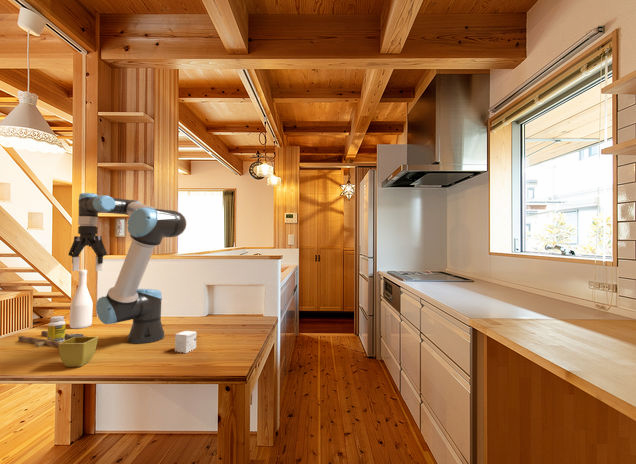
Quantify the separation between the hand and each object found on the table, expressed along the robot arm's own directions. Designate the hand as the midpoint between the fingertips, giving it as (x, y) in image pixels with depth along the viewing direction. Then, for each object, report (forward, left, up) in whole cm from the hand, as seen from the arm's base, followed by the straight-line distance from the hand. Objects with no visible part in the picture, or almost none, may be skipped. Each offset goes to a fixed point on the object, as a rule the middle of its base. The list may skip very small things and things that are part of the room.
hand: (87, 270), depth 151 cm
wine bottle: (+21, -14, -32) cm, 40 cm away
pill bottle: (+6, +8, -32) cm, 33 cm away
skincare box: (-56, -2, -32) cm, 64 cm away
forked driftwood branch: (+6, +8, -31) cm, 33 cm away
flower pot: (-30, +24, -32) cm, 50 cm away
